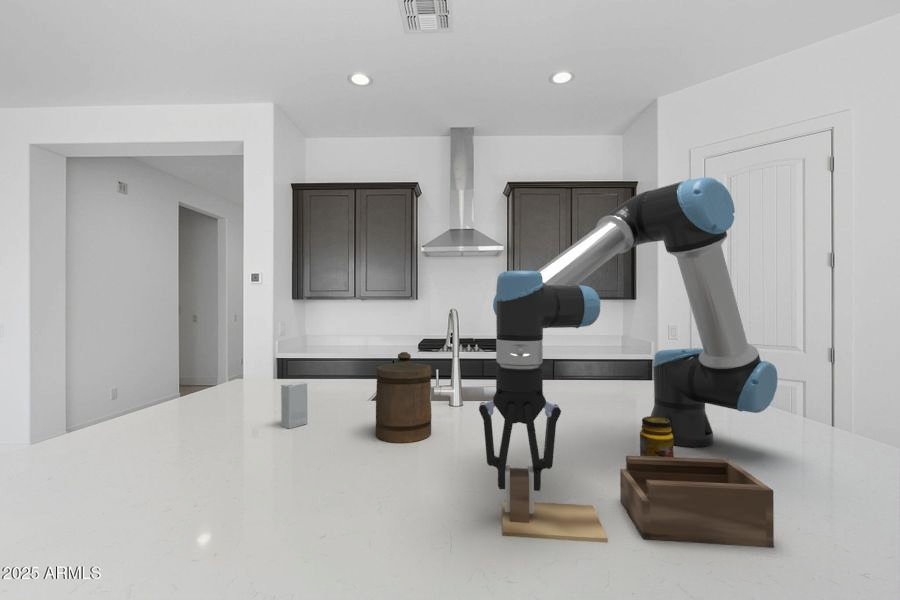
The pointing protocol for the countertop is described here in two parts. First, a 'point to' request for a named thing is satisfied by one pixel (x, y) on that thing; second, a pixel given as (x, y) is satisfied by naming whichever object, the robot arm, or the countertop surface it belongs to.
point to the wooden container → (403, 401)
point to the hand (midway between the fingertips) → (519, 508)
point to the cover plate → (547, 516)
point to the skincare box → (294, 404)
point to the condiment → (656, 437)
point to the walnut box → (697, 501)
